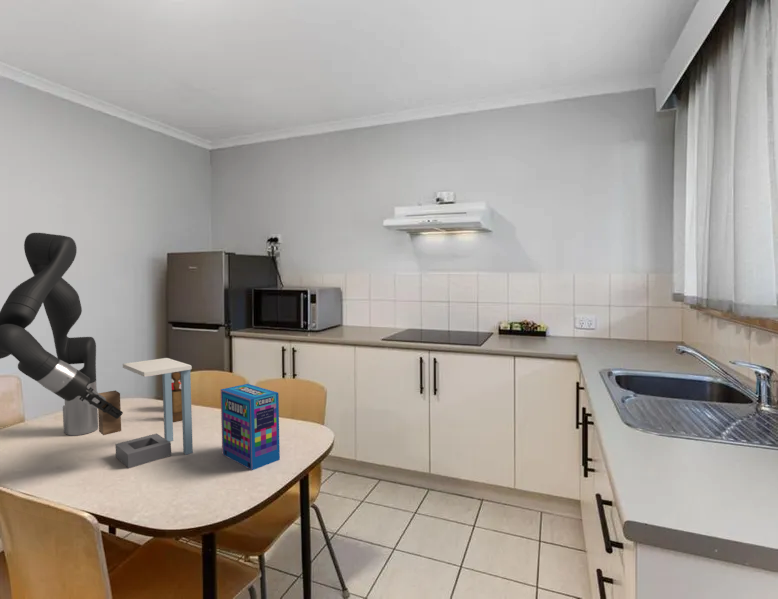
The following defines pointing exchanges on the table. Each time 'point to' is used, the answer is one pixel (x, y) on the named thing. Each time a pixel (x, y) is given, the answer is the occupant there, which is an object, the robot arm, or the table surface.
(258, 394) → the box
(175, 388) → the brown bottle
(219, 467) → the table surface
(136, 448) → the socket
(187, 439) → the two-legged side table
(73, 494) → the table surface
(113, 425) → the walnut peg
